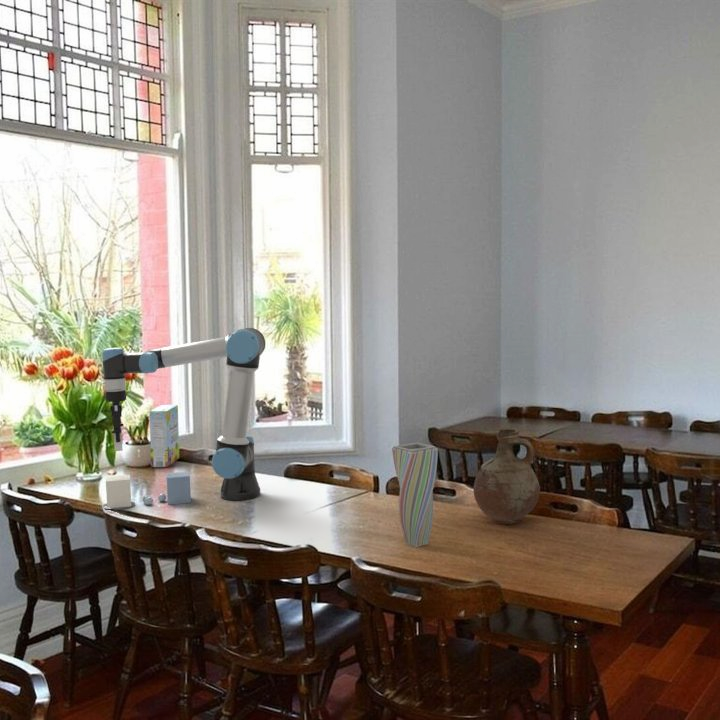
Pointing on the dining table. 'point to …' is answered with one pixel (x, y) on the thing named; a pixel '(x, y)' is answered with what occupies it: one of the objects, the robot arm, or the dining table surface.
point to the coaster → (124, 507)
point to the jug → (507, 481)
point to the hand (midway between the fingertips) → (118, 447)
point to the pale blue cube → (178, 487)
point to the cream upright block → (118, 491)
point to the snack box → (164, 435)
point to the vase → (415, 489)
